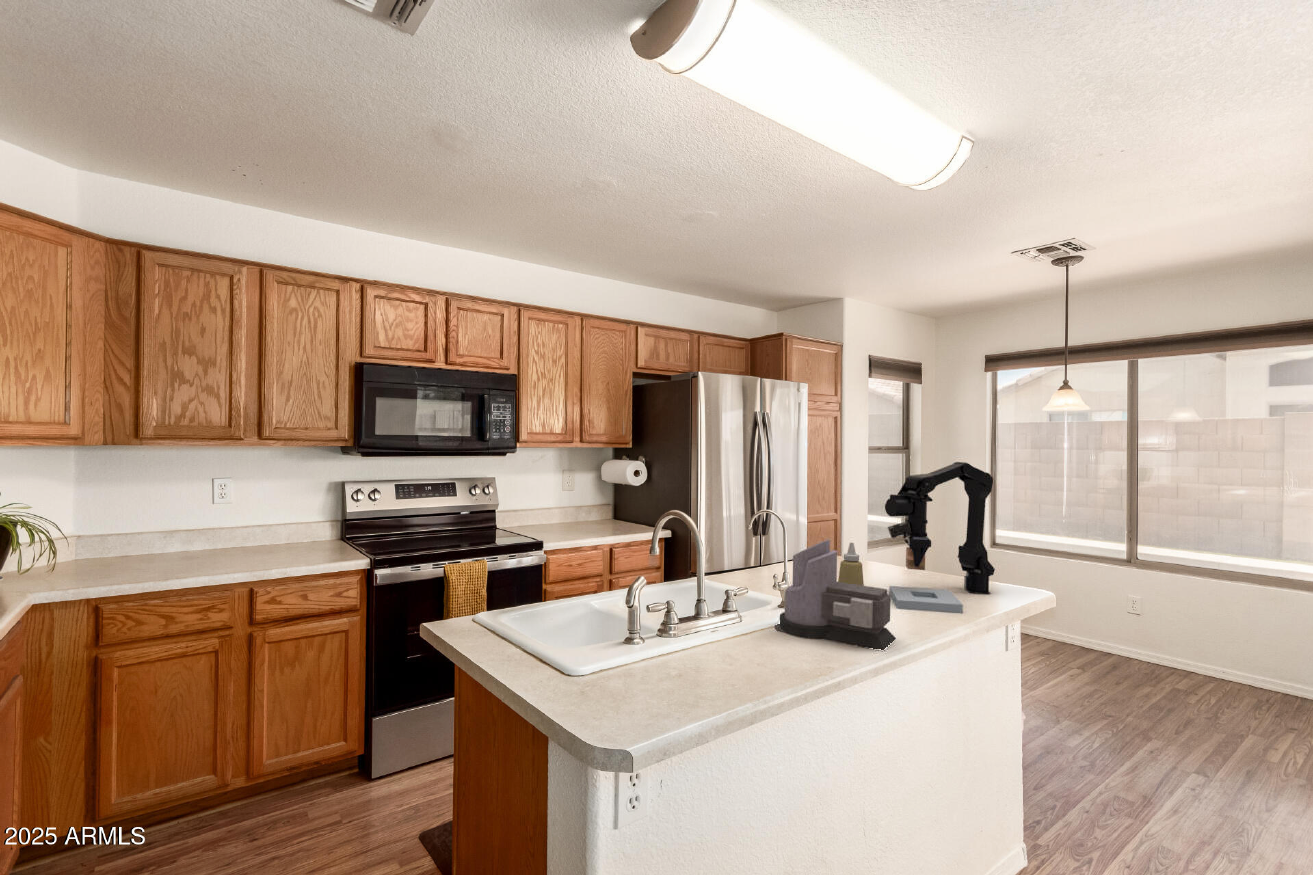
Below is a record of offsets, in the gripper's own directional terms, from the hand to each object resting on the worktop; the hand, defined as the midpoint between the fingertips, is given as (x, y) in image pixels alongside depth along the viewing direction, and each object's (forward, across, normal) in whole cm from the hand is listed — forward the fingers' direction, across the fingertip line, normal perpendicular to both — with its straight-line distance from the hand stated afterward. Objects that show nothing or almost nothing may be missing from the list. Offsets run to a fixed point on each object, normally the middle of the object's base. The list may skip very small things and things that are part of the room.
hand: (915, 564), depth 203 cm
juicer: (+11, +45, -26) cm, 53 cm away
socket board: (+10, +6, +2) cm, 12 cm away
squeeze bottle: (+11, +10, -20) cm, 25 cm away
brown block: (+1, 0, 0) cm, 1 cm away
